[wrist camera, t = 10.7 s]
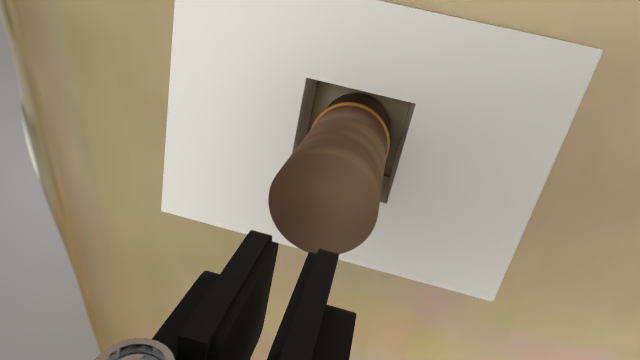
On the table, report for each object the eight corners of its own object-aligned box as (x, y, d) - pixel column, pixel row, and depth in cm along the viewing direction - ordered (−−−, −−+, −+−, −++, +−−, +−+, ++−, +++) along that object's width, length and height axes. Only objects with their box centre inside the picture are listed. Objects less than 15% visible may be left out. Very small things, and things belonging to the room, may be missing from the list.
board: (572, 42, 23) (603, 50, 20) (482, 263, 29) (493, 301, 25) (211, -37, 25) (177, -44, 22) (190, 186, 31) (161, 211, 27)
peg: (400, 97, 26) (395, 167, 15) (382, 163, 28) (365, 270, 17) (330, 81, 26) (275, 137, 15) (316, 147, 28) (258, 240, 17)
